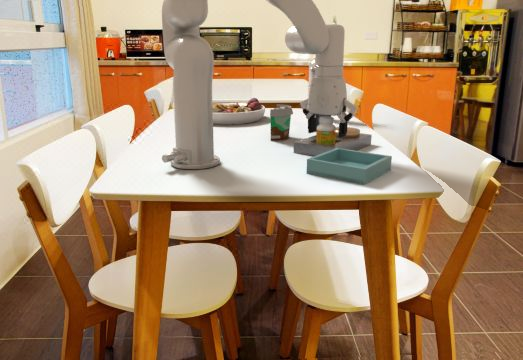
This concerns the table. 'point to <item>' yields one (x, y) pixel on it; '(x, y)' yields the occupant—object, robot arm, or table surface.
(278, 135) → the food container
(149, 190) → the table surface
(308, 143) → the bracket
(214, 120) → the bowl
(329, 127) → the supplement bottle
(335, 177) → the tray
